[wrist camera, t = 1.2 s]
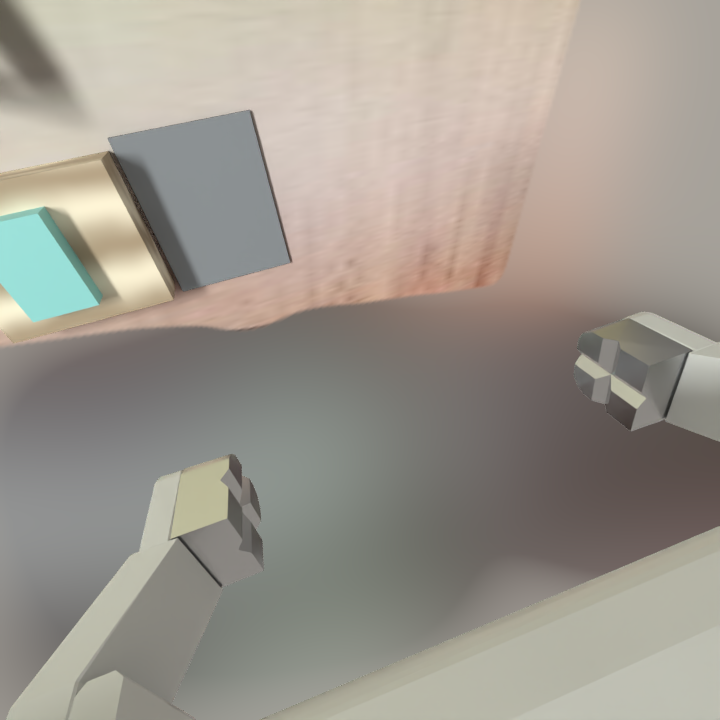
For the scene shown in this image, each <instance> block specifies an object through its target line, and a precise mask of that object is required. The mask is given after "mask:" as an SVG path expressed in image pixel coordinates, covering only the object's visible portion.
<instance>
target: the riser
mask: <svg viewBox="0 0 720 720" xmlns="http://www.w3.org/2000/svg"><path fill="white" fill-rule="evenodd" d="M44 206H45V208H46V210H47V211H48V213H49V214H50V216H51V217H52V219H53V220H54V222H55V223H56V225H57V226H58V228H59V229H60V231H61V232H62V234H63V235H64V237H65V238H66V240H67V242H68V243H69V245H70V246H71V248H72V249H73V251H74V252H75V254H76V255H77V257H78V258H79V260H80V261H81V263H82V264H83V266H84V267H85V269H86V270H87V272H88V274H89V275H90V277H91V278H92V280H93V281H94V283H95V284H96V286H97V287H98V289H99V290H100V292H101V293H102V295H103V296H102V299H101V302H100V304H99V305H97V306H93V307H90V308H86V309H82V310H78V311H75V312H71V313H67V314H63V315H60V316H56V317H52V318H48V319H45V320H41V321H37V322H32V320H31V319H30V318H29V317H28V316H27V314H26V313H25V312H24V311H23V310H22V308H21V307H20V306H19V305H18V304H17V303H16V301H15V300H14V299H13V298H12V297H11V295H10V294H9V293H8V292H7V291H6V289H5V288H4V287H3V286H2V285H1V283H0V329H1V330H2V331H3V332H4V334H5V335H6V336H7V337H8V338H9V339H10V340H11V341H12V342H13V343H17V342H21V341H25V340H28V339H32V338H36V337H39V336H43V335H47V334H51V333H54V332H58V331H62V330H65V329H69V328H73V327H76V326H80V325H84V324H87V323H91V322H95V321H98V320H102V319H106V318H109V317H113V316H117V315H120V314H124V313H128V312H132V311H135V310H139V309H143V308H146V307H150V306H154V305H157V304H161V303H165V302H168V301H172V300H174V291H175V283H174V281H173V279H172V277H171V275H170V273H169V271H168V269H167V267H166V265H165V263H164V261H163V259H162V257H161V255H160V253H159V251H158V249H157V247H156V245H155V243H154V241H153V239H152V237H151V235H150V233H149V231H148V229H147V227H146V225H145V223H144V221H143V219H142V217H141V215H140V213H139V211H138V209H137V207H136V205H135V203H134V201H133V199H132V197H131V195H130V193H129V191H128V189H127V187H126V185H125V183H124V181H123V179H122V177H121V175H120V173H119V171H118V169H117V167H116V165H115V163H114V161H113V159H112V157H111V155H110V153H109V151H107V152H102V153H97V154H92V155H87V156H82V157H77V158H72V159H67V160H62V161H57V162H53V163H48V164H43V165H38V166H33V167H28V168H23V169H18V170H13V171H8V172H3V173H0V216H3V215H7V214H12V213H16V212H21V211H25V210H30V209H35V208H39V207H44Z"/></svg>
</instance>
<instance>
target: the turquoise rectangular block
mask: <svg viewBox="0 0 720 720" xmlns="http://www.w3.org/2000/svg"><path fill="white" fill-rule="evenodd" d="M0 283H1V285H2V286H3V287H4V288H5V289H6V291H7V292H8V293H9V294H10V295H11V297H12V298H13V299H14V300H15V301H16V303H17V304H18V305H19V306H20V307H21V308H22V310H23V311H24V312H25V313H26V314H27V316H28V317H29V318H30V319H31V320H32V322H37V321H41V320H45V319H48V318H52V317H56V316H60V315H63V314H67V313H71V312H75V311H78V310H82V309H86V308H90V307H93V306H97V305H99V304H100V302H101V299H102V296H103V295H102V293H101V292H100V290H99V289H98V287H97V286H96V284H95V283H94V281H93V280H92V278H91V277H90V275H89V274H88V272H87V270H86V269H85V267H84V266H83V264H82V263H81V261H80V260H79V258H78V257H77V255H76V254H75V252H74V251H73V249H72V248H71V246H70V245H69V243H68V242H67V240H66V238H65V237H64V235H63V234H62V232H61V231H60V229H59V228H58V226H57V225H56V223H55V222H54V220H53V219H52V217H51V216H50V214H49V213H48V211H47V210H46V208H45V206H44V207H39V208H35V209H30V210H25V211H21V212H16V213H12V214H7V215H3V216H0Z"/></svg>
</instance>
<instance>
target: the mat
mask: <svg viewBox="0 0 720 720" xmlns="http://www.w3.org/2000/svg"><path fill="white" fill-rule="evenodd" d="M108 141H109V143H110V145H111V147H112V149H113V151H114V153H115V155H116V157H117V159H118V161H119V163H120V165H121V167H122V169H123V171H124V173H125V175H126V177H127V179H128V181H129V183H130V185H131V187H132V189H133V191H134V193H135V195H136V197H137V199H138V201H139V203H140V205H141V207H142V209H143V211H144V213H145V215H146V218H147V220H148V222H149V224H150V226H151V228H152V230H153V232H154V234H155V236H156V238H157V240H158V242H159V244H160V246H161V248H162V250H163V252H164V254H165V256H166V258H167V260H168V262H169V264H170V266H171V268H172V270H173V272H174V274H175V276H176V278H177V280H178V282H179V284H180V286H181V288H182V290H183V291H187V290H191V289H194V288H198V287H202V286H206V285H209V284H213V283H217V282H220V281H224V280H228V279H232V278H235V277H239V276H243V275H246V274H250V273H254V272H258V271H261V270H265V269H269V268H272V267H276V266H280V265H284V264H287V263H290V260H289V256H288V253H287V249H286V245H285V241H284V238H283V234H282V230H281V227H280V223H279V219H278V215H277V212H276V208H275V204H274V200H273V197H272V193H271V189H270V186H269V182H268V178H267V174H266V171H265V167H264V163H263V159H262V156H261V152H260V148H259V145H258V141H257V137H256V133H255V130H254V126H253V122H252V119H251V115H250V111H249V110H246V111H241V112H236V113H231V114H226V115H221V116H216V117H211V118H206V119H201V120H196V121H191V122H186V123H181V124H176V125H171V126H166V127H160V128H155V129H150V130H145V131H140V132H135V133H130V134H125V135H120V136H115V137H110V138H108Z"/></svg>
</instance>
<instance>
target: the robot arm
mask: <svg viewBox="0 0 720 720" xmlns="http://www.w3.org/2000/svg"><path fill="white" fill-rule="evenodd" d="M577 349H578V350H579V351H580V353H581V356H580V357H579V359H578V360H577V362H576V363H575V367H574V378H575V380H576V383H577V386H578V387H579V389H580V390H581V391H582V393H583V394H584V395H586V396H587V397H588V398H589V399H590V400H592V401H596V402H600V403H603V404H605V407H606V412H607V413H608V414H609V415H611V416H612V417H613V418H614V419H616V420H617V421H618V422H620V423H621V424H622V425H624V426H625V427H626V428H627V429H628V430H630V431H633V430H636V429H639V428H641V427H644V426H647V425H650V424H653V423H656V422H659V421H662V420H665V419H666V422H668V423H671V424H674V425H676V426H679V427H682V428H685V429H687V430H690V431H693V432H696V433H698V434H701V435H703V436H706V437H709V438H712V439H714V440H717V441H720V342H718V343H716V342H714V341H712V340H710V339H708V338H705V337H703V336H701V335H699V334H697V333H695V332H693V331H690V330H688V329H686V328H684V327H682V326H680V325H677V324H675V323H673V322H671V321H669V320H667V319H664V318H662V317H660V316H658V315H656V314H654V313H651V312H640V313H637V314H634V315H631V316H629V317H626V318H623V319H621V320H619V321H616V322H613V323H610V324H607V325H604V326H601V327H599V328H596V329H593V330H590V331H588V332H584V333H583V334H582V335H581V336H580V338H579V340H578V346H577ZM260 522H261V512H260V505H259V501H258V497H257V493H256V491H255V488H254V486H253V484H252V482H251V480H250V479H249V478H247V477H244V476H242V466H241V464H240V462H239V460H238V459H237V457H236V456H235V455H233V454H230V455H227V456H223V457H220V458H217V459H214V460H211V461H208V462H204V463H201V464H198V465H195V466H192V467H189V468H186V469H184V470H181V471H178V472H175V473H172V474H168V475H165V476H162V477H160V478H159V479H158V480H157V481H156V483H155V485H154V489H153V494H152V498H151V502H150V506H149V511H148V515H147V520H146V524H145V528H144V532H143V537H142V541H141V545H140V550H139V552H137V553H134V554H132V555H130V557H129V558H128V559H127V560H126V562H125V563H124V564H123V565H122V567H121V568H120V569H119V571H118V572H117V573H116V575H115V576H114V577H113V578H112V579H111V581H110V582H109V583H108V585H107V586H106V587H105V589H104V590H103V591H102V592H101V593H100V595H99V596H98V597H97V599H96V600H95V601H94V603H93V604H92V605H91V606H90V607H89V609H88V610H87V611H86V613H85V614H84V615H83V616H82V618H81V619H80V620H79V622H78V623H77V624H76V626H75V627H74V628H73V629H72V630H71V632H70V633H69V634H68V636H67V637H66V638H65V639H64V641H63V642H62V643H61V644H60V646H59V647H58V649H57V650H56V651H55V652H54V654H53V655H52V656H51V657H50V659H49V660H48V661H47V662H46V664H45V665H44V666H43V667H42V669H41V670H40V671H39V672H38V674H37V675H36V676H35V678H34V679H33V680H32V682H31V683H30V684H29V685H28V686H27V688H26V689H25V690H24V692H23V693H22V694H21V695H20V697H19V698H18V699H17V700H16V702H15V703H14V704H13V706H12V707H11V708H10V711H9V713H8V716H7V718H6V720H196V719H195V718H194V717H192V716H191V715H189V714H188V713H186V712H184V711H183V710H181V709H179V708H177V707H176V706H174V705H173V704H172V702H173V700H174V698H175V695H176V693H177V691H178V689H179V686H180V684H181V682H182V680H183V677H184V675H185V673H186V671H187V669H188V666H189V664H190V662H191V660H192V658H193V655H194V653H195V651H196V649H197V647H198V644H199V642H200V640H201V638H202V635H203V633H204V631H205V629H206V626H207V624H208V622H209V620H210V618H211V616H212V613H213V611H214V609H215V607H216V604H217V602H218V600H219V598H220V595H221V593H222V591H223V590H222V587H225V586H227V585H229V584H232V583H235V582H237V581H240V580H242V579H244V578H247V577H249V576H252V575H254V574H257V573H259V572H261V571H263V570H264V562H263V543H262V539H261V537H260V535H259V534H258V532H257V531H256V529H257V527H258V525H259V524H260ZM260 720H720V526H719V527H716V528H714V529H711V530H709V531H707V532H704V533H702V534H700V535H698V536H695V537H692V538H690V539H688V540H686V541H683V542H681V543H678V544H676V545H674V546H671V547H669V548H666V549H664V550H662V551H659V552H657V553H654V554H652V555H650V556H647V557H645V558H643V559H640V560H638V561H636V562H633V563H631V564H628V565H626V566H624V567H621V568H619V569H616V570H614V571H612V572H610V573H607V574H605V575H602V576H600V577H597V578H595V579H593V580H590V581H588V582H585V583H583V584H581V585H579V586H576V587H574V588H571V589H569V590H566V591H564V592H562V593H559V594H557V595H555V596H552V597H550V598H547V599H545V600H543V601H540V602H538V603H536V604H533V605H531V606H528V607H526V608H524V609H521V610H519V611H517V612H515V613H512V614H509V615H507V616H505V617H502V618H500V619H498V620H495V621H493V622H490V623H488V624H486V625H484V626H481V627H479V628H476V629H474V630H471V631H469V632H467V633H464V634H462V635H460V636H457V637H455V638H452V639H450V640H448V641H446V642H443V643H441V644H438V645H436V646H433V647H431V648H429V649H426V650H424V651H422V652H419V653H417V654H415V655H412V656H410V657H407V658H405V659H403V660H400V661H398V662H395V663H393V664H391V665H389V666H386V667H384V668H381V669H379V670H377V671H374V672H372V673H369V674H367V675H365V676H362V677H360V678H357V679H355V680H353V681H350V682H348V683H346V684H343V685H341V686H338V687H336V688H334V689H331V690H329V691H327V692H324V693H322V694H320V695H317V696H315V697H312V698H310V699H308V700H305V701H303V702H301V703H298V704H296V705H293V706H291V707H289V708H286V709H284V710H282V711H279V712H277V713H274V714H272V715H270V716H267V717H265V718H263V719H260Z"/></svg>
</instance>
